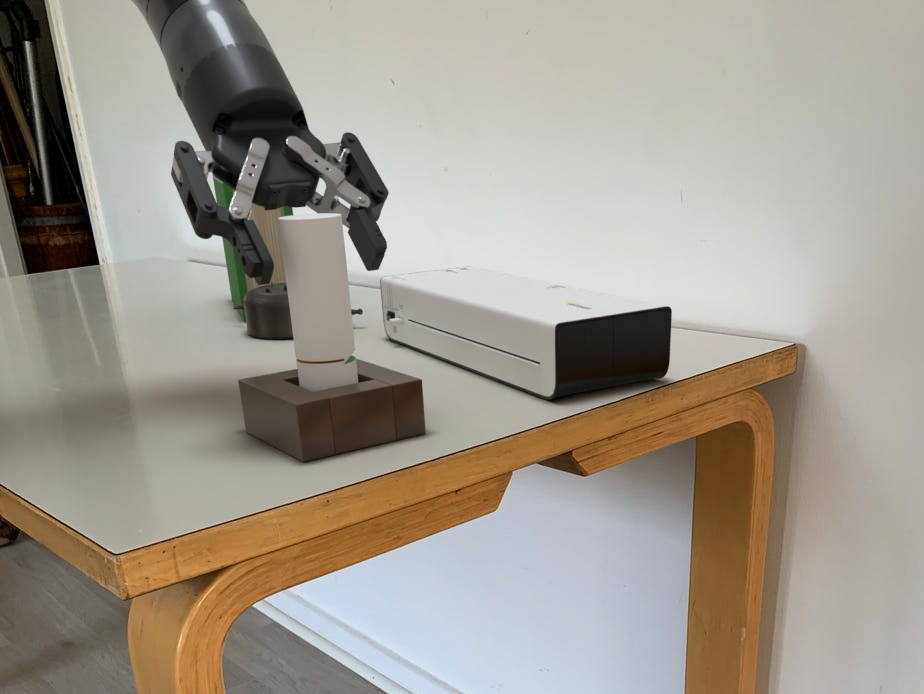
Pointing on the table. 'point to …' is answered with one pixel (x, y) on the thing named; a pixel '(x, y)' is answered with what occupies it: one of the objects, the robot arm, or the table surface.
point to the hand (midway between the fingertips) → (324, 269)
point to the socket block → (332, 411)
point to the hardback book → (271, 237)
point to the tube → (319, 299)
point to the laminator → (527, 329)
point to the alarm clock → (270, 312)
